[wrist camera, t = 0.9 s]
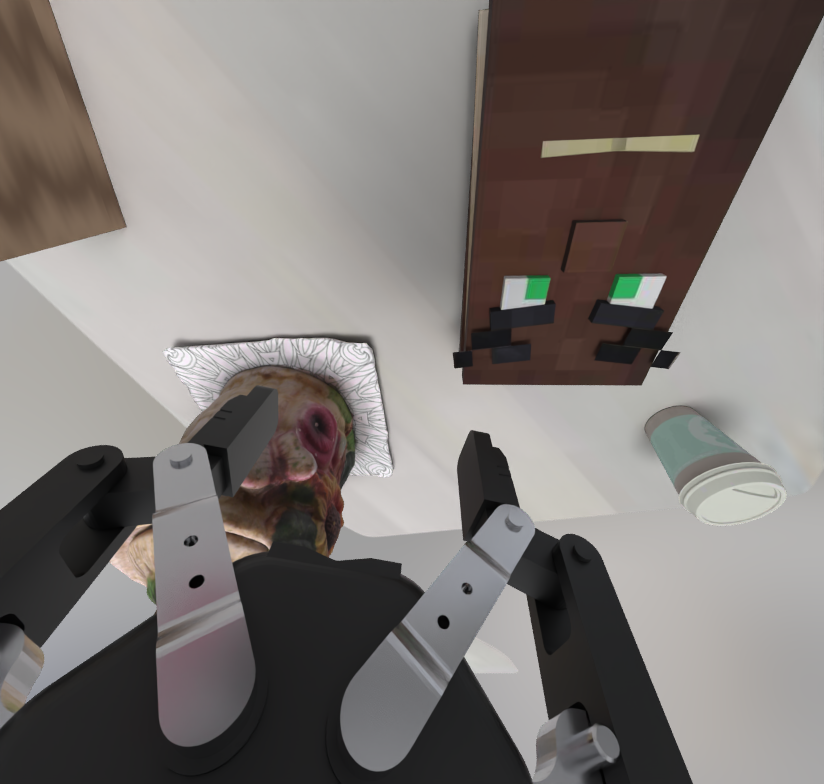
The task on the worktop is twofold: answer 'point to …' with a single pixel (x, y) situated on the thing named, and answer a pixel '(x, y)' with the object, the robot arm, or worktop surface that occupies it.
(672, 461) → the coffee cup
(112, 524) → the robot arm
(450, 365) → the worktop surface
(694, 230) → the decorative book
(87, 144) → the shelf
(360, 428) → the cookie jar
